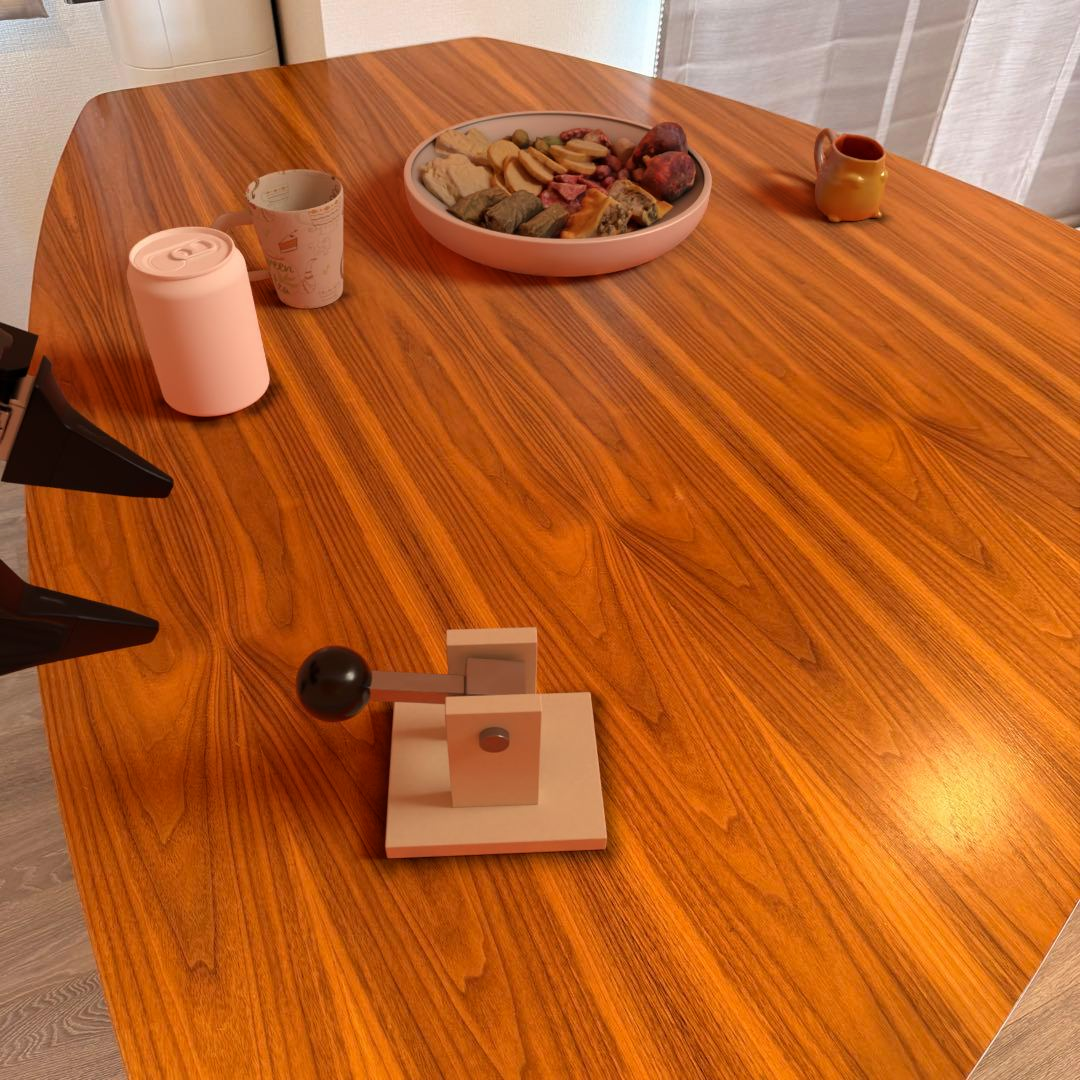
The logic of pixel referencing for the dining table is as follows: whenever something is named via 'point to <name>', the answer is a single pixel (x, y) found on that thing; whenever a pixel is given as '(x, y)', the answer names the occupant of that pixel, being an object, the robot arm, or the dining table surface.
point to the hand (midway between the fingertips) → (164, 555)
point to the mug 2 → (849, 176)
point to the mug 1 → (296, 234)
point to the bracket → (494, 764)
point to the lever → (393, 683)
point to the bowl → (558, 191)
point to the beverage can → (198, 320)
